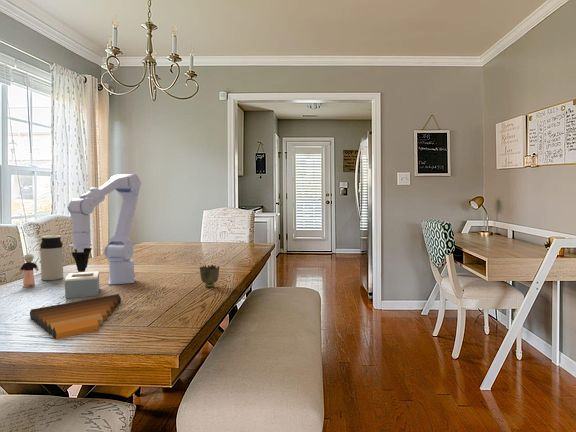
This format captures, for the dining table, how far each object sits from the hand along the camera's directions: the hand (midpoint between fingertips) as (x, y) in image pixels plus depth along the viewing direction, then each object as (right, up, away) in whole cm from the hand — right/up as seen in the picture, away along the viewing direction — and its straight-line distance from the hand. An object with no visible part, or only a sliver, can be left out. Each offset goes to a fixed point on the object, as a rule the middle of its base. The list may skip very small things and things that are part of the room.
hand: (82, 269), depth 146 cm
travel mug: (-25, -7, +25) cm, 36 cm away
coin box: (0, -8, +1) cm, 8 cm away
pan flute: (+17, -11, -28) cm, 35 cm away
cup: (+44, -8, +10) cm, 46 cm away
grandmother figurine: (-26, -8, +11) cm, 30 cm away
